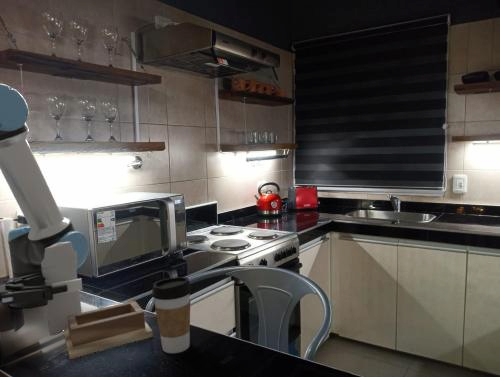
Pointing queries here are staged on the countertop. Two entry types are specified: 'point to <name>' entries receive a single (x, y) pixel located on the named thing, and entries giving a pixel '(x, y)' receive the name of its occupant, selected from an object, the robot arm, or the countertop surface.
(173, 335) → the coffee cup
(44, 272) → the tall pale column
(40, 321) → the countertop surface
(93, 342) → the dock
